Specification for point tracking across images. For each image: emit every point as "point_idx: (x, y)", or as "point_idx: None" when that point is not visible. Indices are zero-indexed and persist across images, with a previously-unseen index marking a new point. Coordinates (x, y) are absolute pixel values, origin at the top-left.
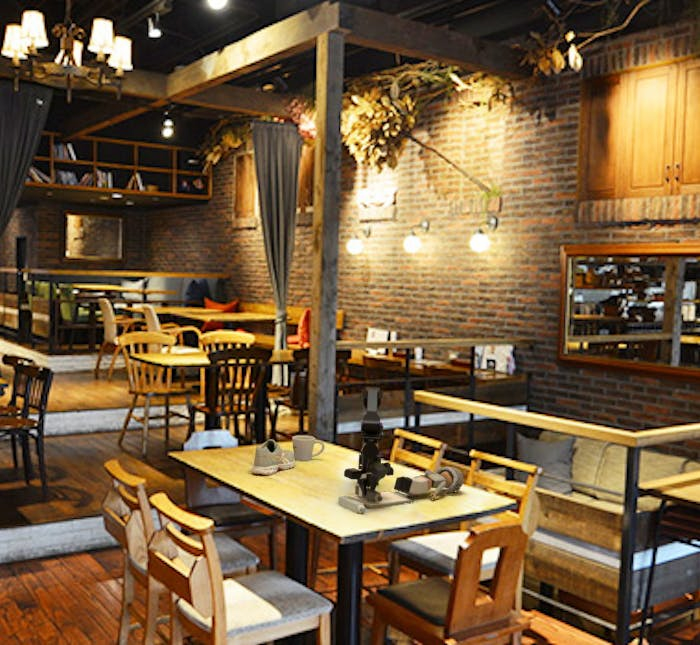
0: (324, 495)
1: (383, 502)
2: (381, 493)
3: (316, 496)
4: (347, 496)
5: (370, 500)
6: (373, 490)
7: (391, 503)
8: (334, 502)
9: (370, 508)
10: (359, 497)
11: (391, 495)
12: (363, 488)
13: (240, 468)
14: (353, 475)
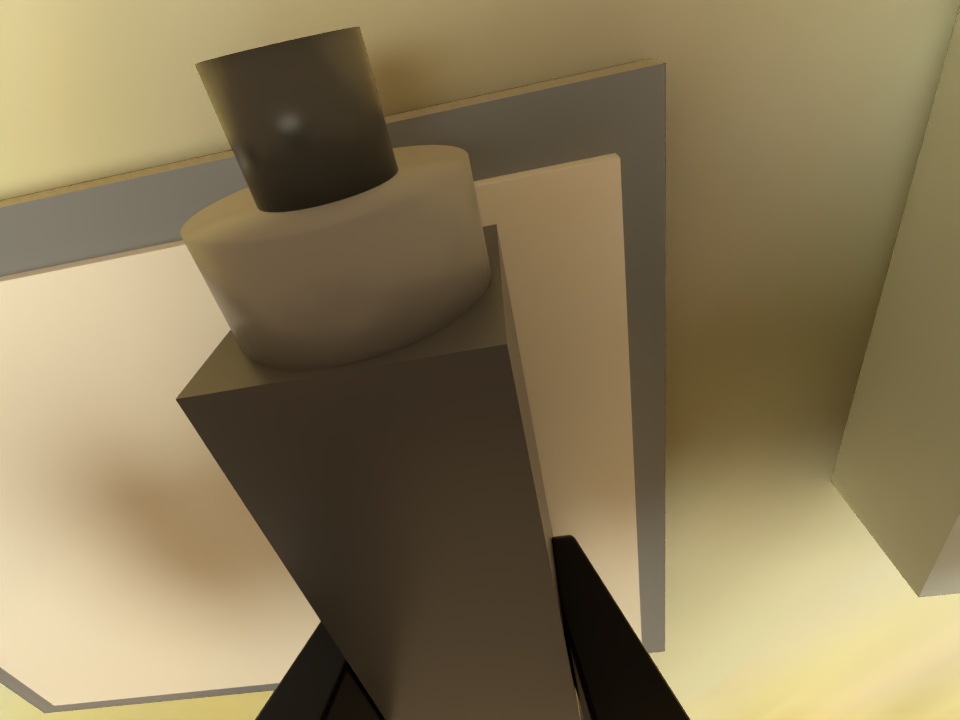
0: (803, 715)
1: (202, 285)
2: (164, 665)
3: (906, 705)
4: (939, 555)
5: (518, 345)
6: (361, 626)
7: (10, 226)
8: None
9: (621, 68)
10: None
11: (13, 594)
12: (679, 712)
13: None
14: None
